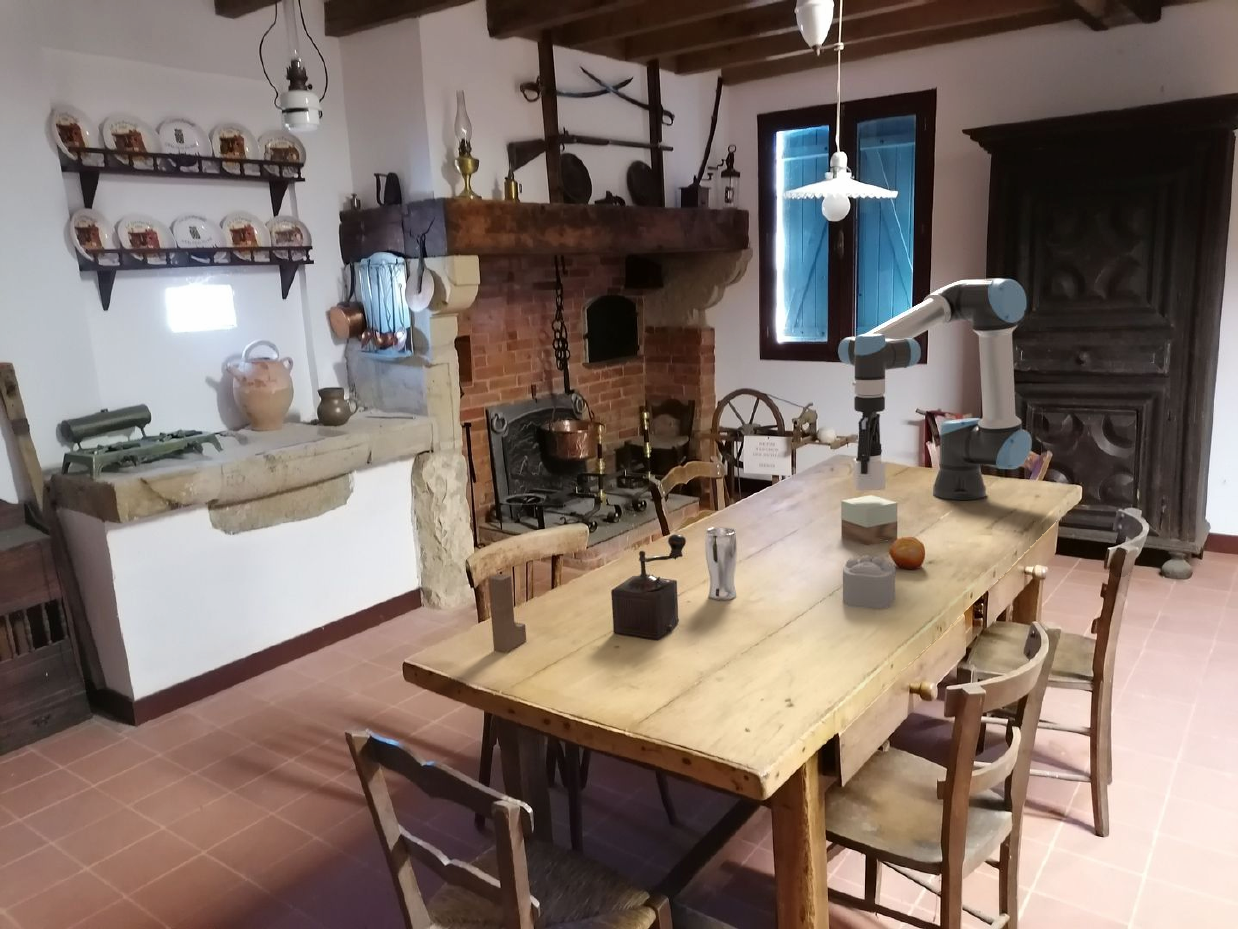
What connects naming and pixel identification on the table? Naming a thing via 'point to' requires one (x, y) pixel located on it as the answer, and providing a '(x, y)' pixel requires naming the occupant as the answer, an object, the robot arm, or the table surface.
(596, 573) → the table surface
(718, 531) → the beer glass
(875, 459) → the medicine bottle
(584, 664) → the table surface
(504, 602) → the wooden block
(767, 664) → the table surface
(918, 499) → the table surface
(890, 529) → the walnut slab
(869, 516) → the sage slab
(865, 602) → the lumpy-topped squat cylinder
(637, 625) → the coffee grinder
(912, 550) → the fruit
